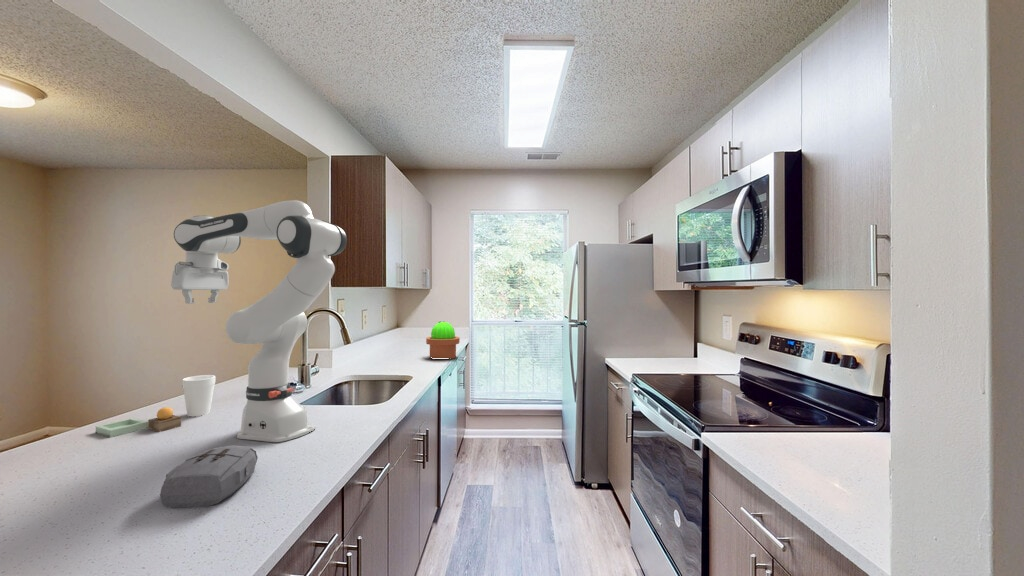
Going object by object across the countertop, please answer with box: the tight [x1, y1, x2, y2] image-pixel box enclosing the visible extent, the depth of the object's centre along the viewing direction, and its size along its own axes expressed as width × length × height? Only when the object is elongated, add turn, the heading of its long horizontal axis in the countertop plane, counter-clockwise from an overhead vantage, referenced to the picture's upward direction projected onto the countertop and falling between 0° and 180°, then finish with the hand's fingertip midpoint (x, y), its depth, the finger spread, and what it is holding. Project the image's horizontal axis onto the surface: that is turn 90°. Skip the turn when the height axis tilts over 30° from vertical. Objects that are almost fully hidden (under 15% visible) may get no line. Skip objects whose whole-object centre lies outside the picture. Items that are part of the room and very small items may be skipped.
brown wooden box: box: [147, 414, 182, 433], centre depth 128 cm, size 6×6×3 cm
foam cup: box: [181, 374, 216, 417], centre depth 143 cm, size 10×9×13 cm
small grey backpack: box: [159, 444, 258, 510], centre depth 91 cm, size 15×8×20 cm
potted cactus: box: [425, 321, 460, 360], centre depth 267 cm, size 22×22×25 cm
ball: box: [156, 406, 174, 420], centre depth 128 cm, size 4×4×4 cm
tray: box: [95, 417, 148, 438], centre depth 126 cm, size 9×9×2 cm
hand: (201, 303), depth 138 cm, fingers open, 8 cm apart
